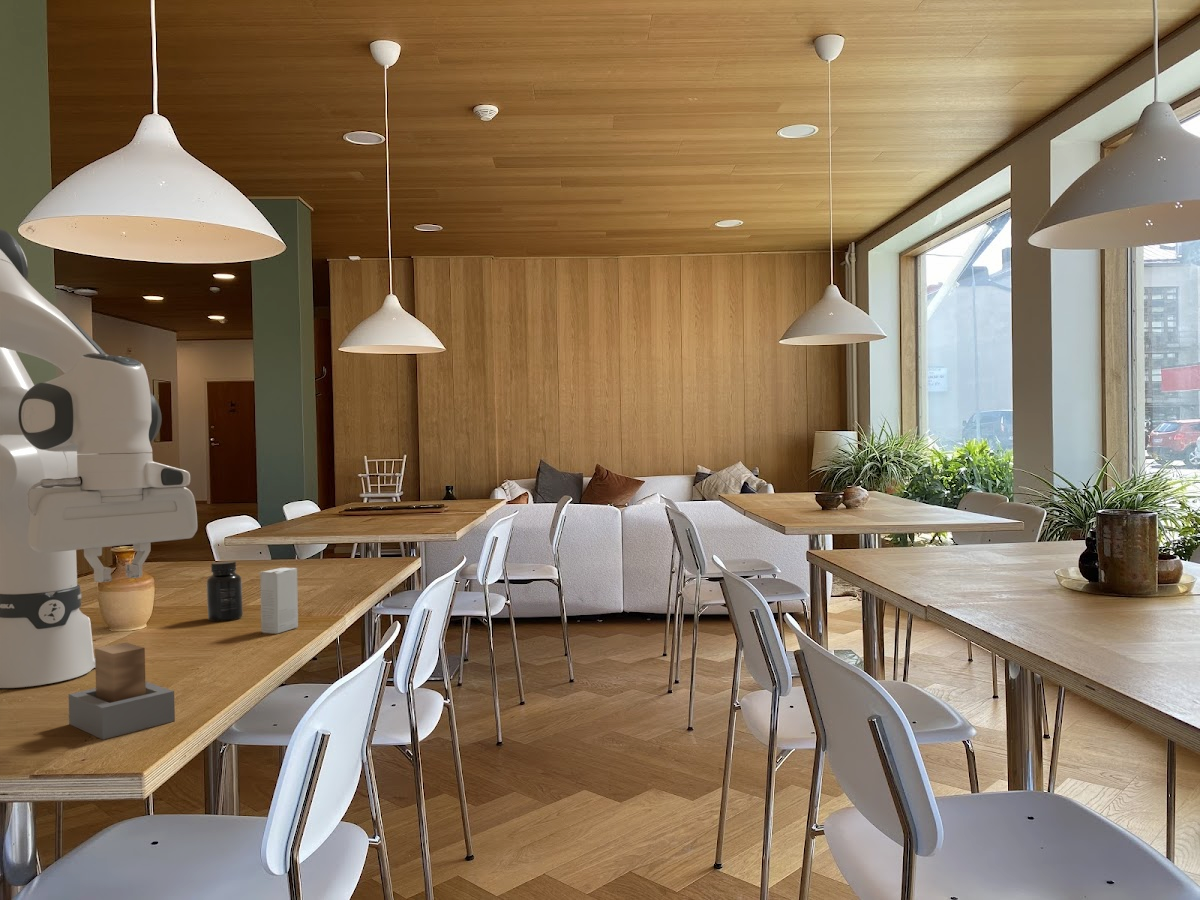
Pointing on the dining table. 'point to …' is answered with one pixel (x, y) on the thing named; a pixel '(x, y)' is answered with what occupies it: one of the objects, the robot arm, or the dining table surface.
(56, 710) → the dining table surface
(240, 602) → the supplement bottle
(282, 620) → the skincare box
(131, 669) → the walnut peg
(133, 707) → the holder
